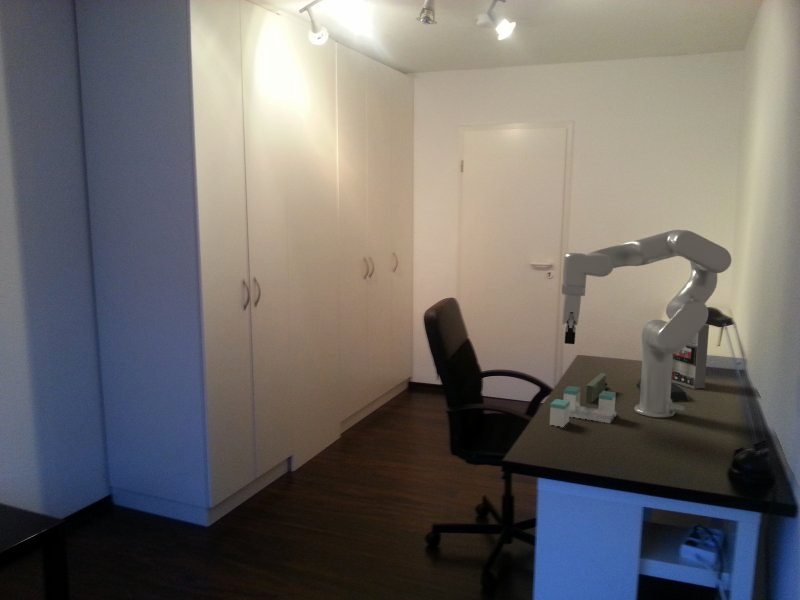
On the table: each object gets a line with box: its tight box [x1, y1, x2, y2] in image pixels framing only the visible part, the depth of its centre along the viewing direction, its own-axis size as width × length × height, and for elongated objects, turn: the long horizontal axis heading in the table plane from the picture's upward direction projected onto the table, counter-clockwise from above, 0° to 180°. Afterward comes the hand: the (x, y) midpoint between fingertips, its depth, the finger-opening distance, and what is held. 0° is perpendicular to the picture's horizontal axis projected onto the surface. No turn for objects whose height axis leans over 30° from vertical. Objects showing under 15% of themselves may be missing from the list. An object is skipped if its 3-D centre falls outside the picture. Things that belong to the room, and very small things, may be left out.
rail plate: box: [563, 385, 617, 424], centre depth 213 cm, size 16×10×8 cm, turn 60°
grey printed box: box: [671, 323, 710, 390], centre depth 252 cm, size 14×6×25 cm, turn 23°
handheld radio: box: [584, 372, 608, 404], centre depth 238 cm, size 7×3×25 cm
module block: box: [549, 398, 570, 428], centre depth 204 cm, size 4×6×7 cm
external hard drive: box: [635, 379, 690, 402], centre depth 240 cm, size 13×19×4 cm
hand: (569, 341), depth 214 cm, fingers open, 9 cm apart
